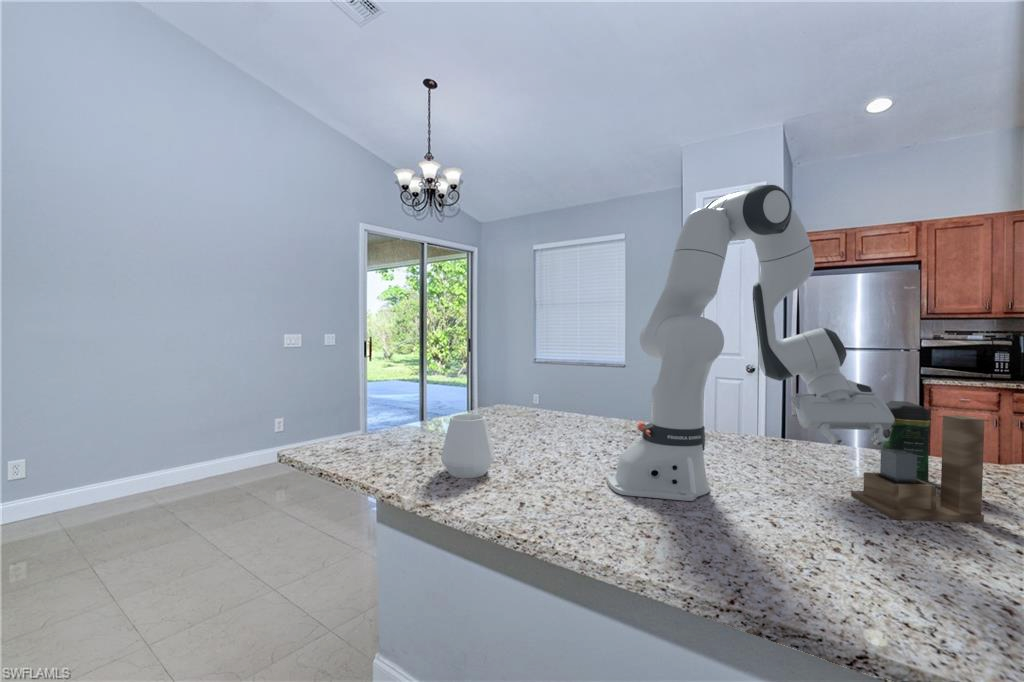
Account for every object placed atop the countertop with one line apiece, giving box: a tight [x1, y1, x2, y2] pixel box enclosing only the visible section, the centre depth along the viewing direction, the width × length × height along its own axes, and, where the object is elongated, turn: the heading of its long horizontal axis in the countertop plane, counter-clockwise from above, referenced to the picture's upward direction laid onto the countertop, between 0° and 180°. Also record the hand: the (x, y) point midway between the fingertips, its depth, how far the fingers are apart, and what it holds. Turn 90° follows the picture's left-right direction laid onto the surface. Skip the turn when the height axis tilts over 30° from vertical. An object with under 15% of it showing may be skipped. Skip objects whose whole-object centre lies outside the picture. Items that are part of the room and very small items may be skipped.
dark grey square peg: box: [879, 449, 917, 484], centre depth 92 cm, size 4×4×10 cm
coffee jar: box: [881, 400, 931, 483], centre depth 110 cm, size 10×8×19 cm
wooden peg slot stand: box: [850, 414, 986, 523], centre depth 91 cm, size 16×12×19 cm
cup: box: [440, 413, 496, 479], centre depth 113 cm, size 13×13×14 cm
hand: (858, 443), depth 104 cm, fingers open, 8 cm apart
